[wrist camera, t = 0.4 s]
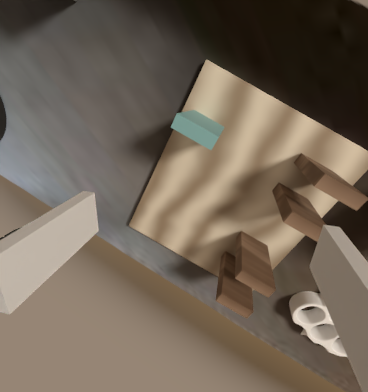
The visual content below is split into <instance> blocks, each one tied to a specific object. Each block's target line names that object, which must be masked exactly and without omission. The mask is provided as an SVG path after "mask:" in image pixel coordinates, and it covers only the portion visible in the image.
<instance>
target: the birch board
mask: <svg viewBox="0 0 368 392" xmlns="http://www.w3.org/2000/svg"><path fill="white" fill-rule="evenodd" d="M191 110H196V111H197V112H199V113H201V114H203V115H204V116H206V117H208V118H210V119H211V120H213V121H215V122H217V123H218V124H220V125H222V126H224V129H223V131H222V133H221V134H220V136H219V138H218V140H217V141H216V143H215V145H214V147H213V148H212V150H209V149H208V148H206V147H204V146H202V145H201V144H199V143H197V142H195V141H194V140H192V139H190V138H188V137H187V136H185V135H183V134H181V133H180V132H178V131H176V130H173V132H172V134H171V136H170V138H169V140H168V143H167V145H166V147H165V149H164V151H163V153H162V155H161V158H160V160H159V162H158V164H157V166H156V168H155V170H154V173H153V175H152V177H151V179H150V181H149V183H148V185H147V187H146V190H145V192H144V194H143V196H142V198H141V200H140V202H139V205H138V207H137V209H136V211H135V213H134V215H133V217H132V220H131V222H130V224H129V226H130V227H132V228H134V229H135V230H137V231H139V232H141V233H142V234H144V235H146V236H148V237H149V238H151V239H153V240H155V241H156V242H158V243H160V244H162V245H163V246H165V247H167V248H169V249H170V250H172V251H174V252H176V253H177V254H179V255H181V256H183V257H184V258H186V259H188V260H189V261H191V262H193V263H195V264H196V265H198V266H200V267H202V268H203V269H205V270H207V271H209V272H210V273H212V274H214V275H216V276H217V277H219V270H220V262H221V256H222V255H223V254H224V253H225V251H227V252H228V253H230V254H232V255H234V256H235V257H236V237H237V236H238V234H239V233H240V232H241V231H243V232H245V233H246V234H248V235H250V236H252V237H253V238H255V239H257V240H259V241H260V242H262V243H264V244H266V245H267V246H268V251H269V256H270V262H271V267H272V270H273V269H274V268H275V267H276V266H277V265H278V264H279V262H280V261H281V260H282V259H283V258H284V257H285V256H286V255H287V254H288V253H289V252H290V251H291V250H292V249H293V248H294V247H295V246H296V245H297V244H298V242H299V241H300V240H301V239H302V238H303V237H304V236H305V234H303V233H301V232H299V231H298V230H296V229H294V228H292V227H291V226H289V225H287V224H285V223H284V222H283V220H282V217H281V214H280V212H279V209H278V206H277V203H276V200H275V198H274V195H273V192H272V190H273V189H274V188H275V186H276V185H277V184H278V182H279V183H281V184H283V185H284V186H286V187H288V188H290V189H291V190H293V191H295V192H297V193H299V194H300V195H302V196H304V197H306V198H307V199H308V200H309V201H310V202H311V204H312V205H313V207H314V208H315V210H316V211H317V213H318V214H319V215H320V217H321V218H322V217H323V216H324V215H325V214H326V213H327V212H328V211H329V210H330V209H331V208H332V207H333V206H334V205H335V204H336V202H337V201H338V200H337V199H335V198H333V197H331V196H330V195H328V194H326V193H324V192H323V191H321V190H319V189H317V188H316V187H314V186H313V185H312V184H311V182H310V181H309V180H308V179H307V178H306V177H305V175H304V174H303V173H302V172H301V171H300V170H299V168H298V167H297V166H296V165H295V164H294V162H295V160H296V159H297V158H298V157H299V155H300V154H301V153H302V154H304V155H305V156H307V157H309V158H311V159H313V160H314V161H316V162H318V163H320V164H321V165H323V166H325V167H327V168H328V169H330V170H332V171H333V172H335V173H336V174H337V175H339V176H340V177H341V178H343V179H344V180H345V181H347V182H348V183H349V184H350V185H352V186H353V185H354V184H355V182H356V181H357V180H358V179H359V178H360V177H361V176H362V175H363V174H364V173H365V172H366V171H367V170H368V151H367V150H365V149H363V148H362V147H360V146H358V145H356V144H355V143H353V142H351V141H349V140H348V139H346V138H344V137H342V136H341V135H339V134H337V133H335V132H333V131H332V130H330V129H328V128H326V127H325V126H323V125H321V124H319V123H318V122H316V121H314V120H312V119H311V118H309V117H307V116H305V115H303V114H302V113H300V112H298V111H296V110H295V109H293V108H291V107H289V106H288V105H286V104H284V103H282V102H281V101H279V100H277V99H275V98H273V97H272V96H270V95H268V94H266V93H265V92H263V91H261V90H259V89H258V88H256V87H254V86H252V85H251V84H249V83H247V82H245V81H243V80H242V79H240V78H238V77H236V76H235V75H233V74H231V73H229V72H228V71H226V70H224V69H222V68H221V67H219V66H217V65H215V64H213V63H212V62H210V61H208V60H206V61H205V63H204V65H203V68H202V70H201V72H200V74H199V76H198V78H197V80H196V83H195V85H194V87H193V89H192V91H191V93H190V95H189V98H188V100H187V102H186V104H185V106H184V108H183V110H182V112H186V111H191ZM253 290H254V289H253V288H252V291H253Z"/></svg>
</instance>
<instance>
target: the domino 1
mask: <svg viewBox="0 0 368 392" xmlns="http://www.w3.org/2000/svg"><path fill="white" fill-rule="evenodd" d="M171 128H173V129H174V130H176V131H178V132H180V133H181V134H183V135H185V136H187V137H188V138H190V139H192V140H194V141H195V142H197V143H199V144H201V145H202V146H204V147H206V148H208V149H209V150H212V148H213V147H214V145H215V143H216V141H217V140H218V138H219V136H220V134H221V133H222V131H223V129H224V126H222V125H220V124H218V123H217V122H215V121H213V120H211V119H210V118H208V117H206V116H204V115H203V114H201V113H199V112H197V111H196V110H191V111H186V112H181V113H177V114H176V117H175V119H174V121H173V123H172V125H171Z"/></svg>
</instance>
